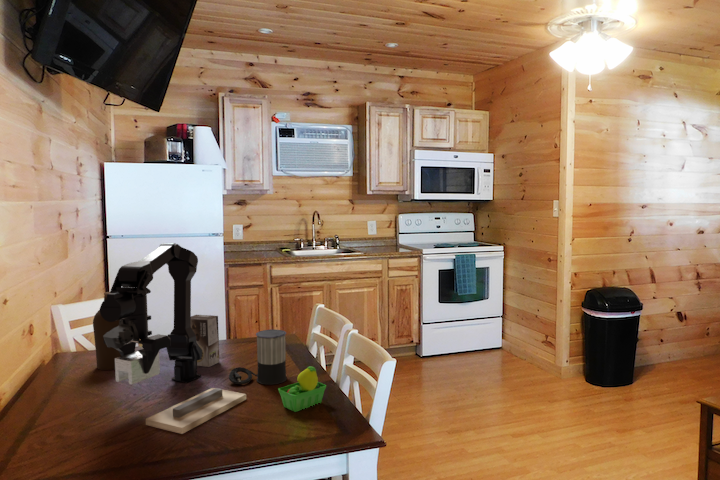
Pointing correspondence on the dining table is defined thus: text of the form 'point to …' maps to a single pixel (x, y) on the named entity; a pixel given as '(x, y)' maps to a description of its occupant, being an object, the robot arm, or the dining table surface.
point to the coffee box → (206, 338)
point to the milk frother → (266, 359)
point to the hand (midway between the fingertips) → (138, 371)
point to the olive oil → (103, 353)
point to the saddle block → (134, 368)
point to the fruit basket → (303, 391)
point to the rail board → (195, 410)
